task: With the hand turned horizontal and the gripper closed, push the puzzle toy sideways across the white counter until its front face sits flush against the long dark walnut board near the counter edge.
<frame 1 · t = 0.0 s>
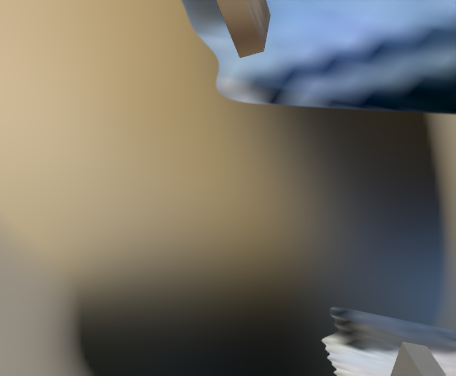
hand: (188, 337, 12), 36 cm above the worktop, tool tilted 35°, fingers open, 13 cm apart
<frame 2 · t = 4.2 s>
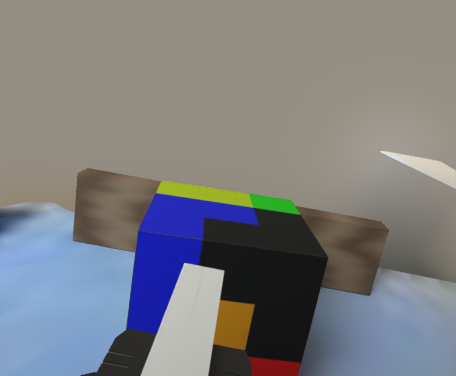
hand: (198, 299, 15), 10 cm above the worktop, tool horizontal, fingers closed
walnut board: (221, 262, 40), on the worktop
puzzle toy: (205, 347, 28), on the worktop
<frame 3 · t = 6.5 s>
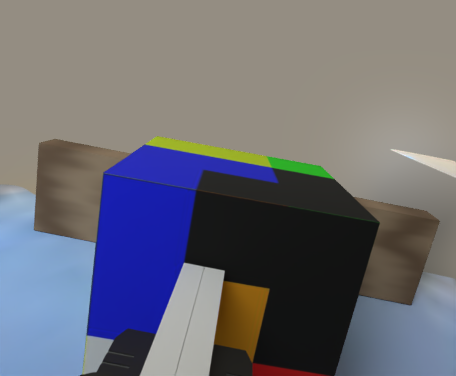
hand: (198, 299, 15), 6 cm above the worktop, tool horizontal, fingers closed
walnut board: (221, 260, 32), on the worktop
puzzle toy: (205, 349, 21), on the worktop, touching gripper
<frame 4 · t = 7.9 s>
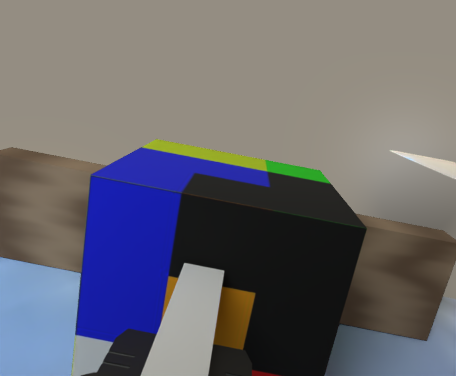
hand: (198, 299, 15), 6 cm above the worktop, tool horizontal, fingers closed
walnut board: (206, 288, 27), on the worktop
puzzle toy: (199, 352, 21), on the worktop
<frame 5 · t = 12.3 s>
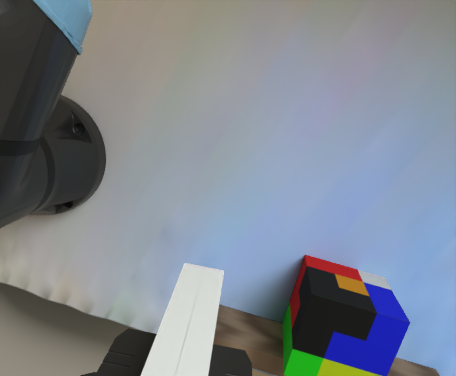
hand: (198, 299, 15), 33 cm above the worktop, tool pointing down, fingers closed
walnut board: (319, 343, 52), on the worktop
puzzle toy: (331, 299, 50), on the worktop
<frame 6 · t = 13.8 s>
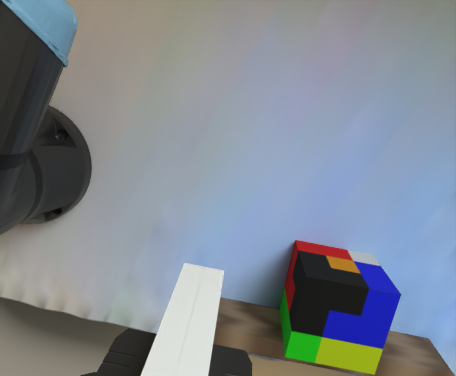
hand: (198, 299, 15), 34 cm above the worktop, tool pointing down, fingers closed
walnut board: (316, 324, 53), on the worktop
puzzle toy: (324, 281, 52), on the worktop
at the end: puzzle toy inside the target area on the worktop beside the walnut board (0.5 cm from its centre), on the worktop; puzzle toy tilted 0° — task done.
